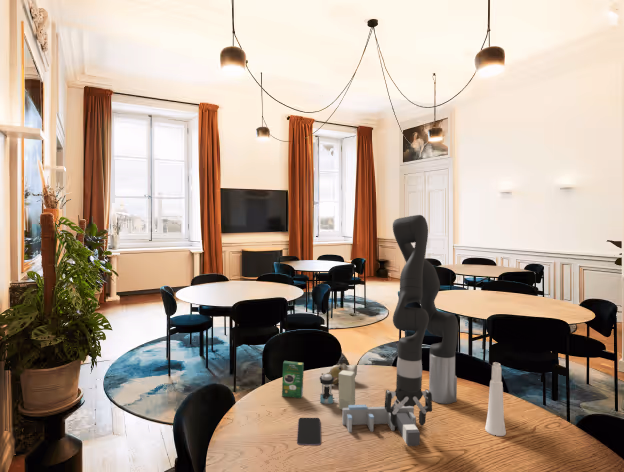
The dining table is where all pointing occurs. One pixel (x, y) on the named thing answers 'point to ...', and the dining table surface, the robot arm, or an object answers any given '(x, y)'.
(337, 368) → the ceramic sculpture
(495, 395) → the cosmetic bottle
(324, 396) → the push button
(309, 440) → the smartphone
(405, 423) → the gray rectangular block
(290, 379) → the coffee box
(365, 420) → the grey pronged rack
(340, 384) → the box
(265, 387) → the dining table surface
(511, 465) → the dining table surface
